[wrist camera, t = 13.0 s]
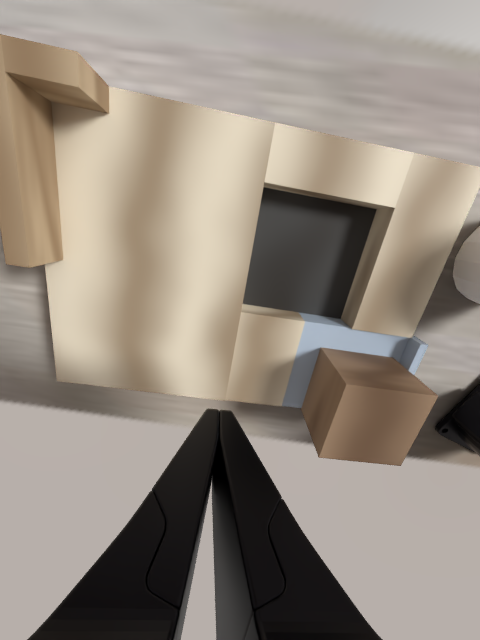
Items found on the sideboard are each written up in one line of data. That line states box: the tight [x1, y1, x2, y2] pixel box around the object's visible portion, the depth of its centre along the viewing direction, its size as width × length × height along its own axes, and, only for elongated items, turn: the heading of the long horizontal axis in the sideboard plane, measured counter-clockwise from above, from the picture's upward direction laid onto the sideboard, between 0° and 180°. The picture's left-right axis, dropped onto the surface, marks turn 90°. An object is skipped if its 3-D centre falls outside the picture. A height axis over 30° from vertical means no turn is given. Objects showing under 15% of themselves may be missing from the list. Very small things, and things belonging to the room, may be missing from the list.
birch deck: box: [0, 34, 480, 407], centre depth 15 cm, size 22×16×4 cm
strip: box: [282, 313, 428, 408], centre depth 18 cm, size 8×6×3 cm
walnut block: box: [301, 347, 438, 466], centre depth 16 cm, size 5×5×4 cm
